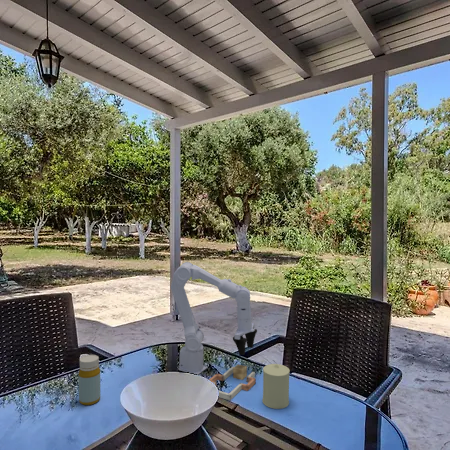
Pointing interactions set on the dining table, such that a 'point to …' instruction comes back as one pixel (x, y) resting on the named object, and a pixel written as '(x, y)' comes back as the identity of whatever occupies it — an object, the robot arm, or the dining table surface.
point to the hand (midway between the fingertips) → (246, 350)
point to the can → (276, 386)
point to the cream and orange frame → (240, 387)
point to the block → (239, 372)
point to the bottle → (89, 380)
